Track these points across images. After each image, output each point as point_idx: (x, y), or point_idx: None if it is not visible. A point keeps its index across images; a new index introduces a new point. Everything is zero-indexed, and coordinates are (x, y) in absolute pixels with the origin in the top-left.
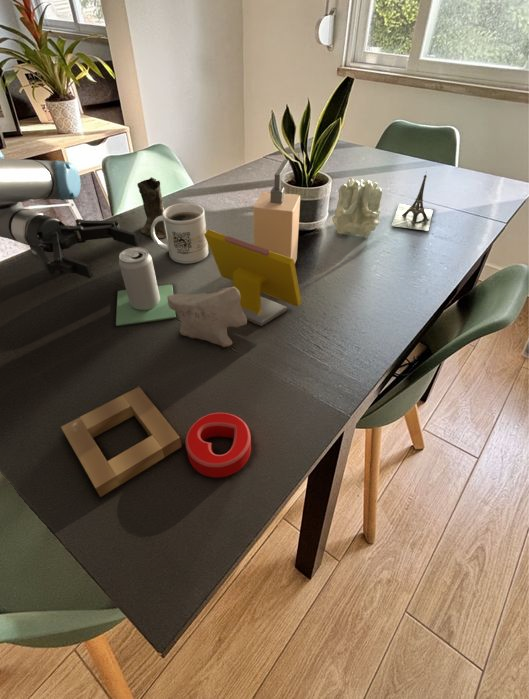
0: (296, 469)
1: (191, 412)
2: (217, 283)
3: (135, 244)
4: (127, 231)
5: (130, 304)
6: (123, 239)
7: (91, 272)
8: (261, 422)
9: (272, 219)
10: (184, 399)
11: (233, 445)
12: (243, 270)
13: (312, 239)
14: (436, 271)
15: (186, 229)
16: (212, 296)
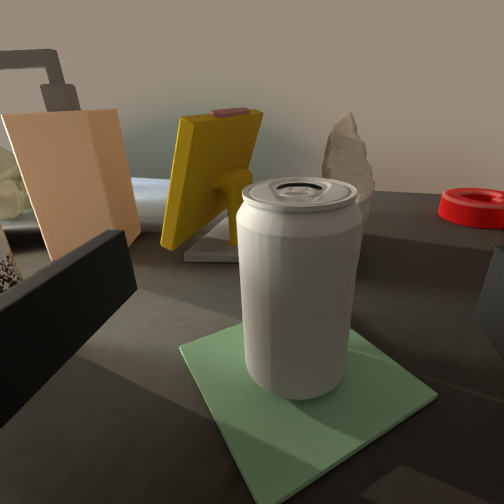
0: (433, 195)
1: (468, 237)
2: (161, 285)
3: (133, 280)
4: (66, 254)
5: (340, 378)
6: (77, 321)
7: (483, 292)
8: (414, 209)
9: (108, 131)
10: (460, 245)
11: (475, 190)
12: (223, 176)
13: (17, 232)
14: (132, 182)
15: (5, 241)
16: (357, 137)
